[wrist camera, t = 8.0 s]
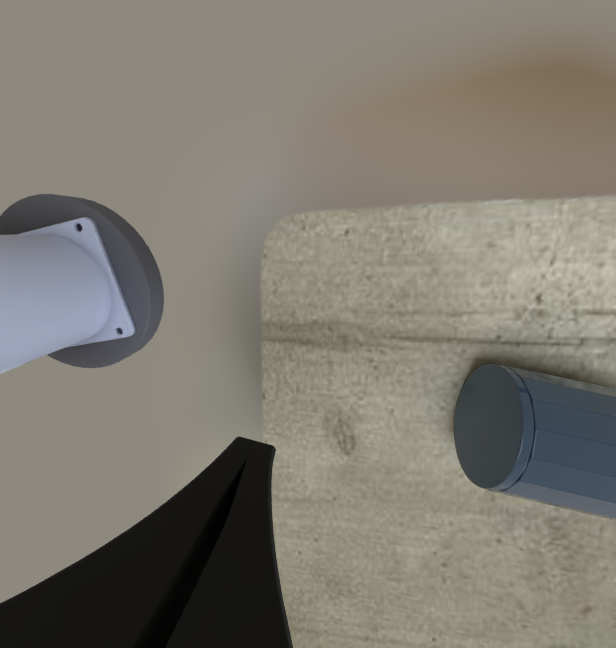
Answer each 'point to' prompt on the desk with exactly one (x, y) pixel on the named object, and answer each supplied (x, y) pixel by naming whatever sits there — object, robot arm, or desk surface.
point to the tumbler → (539, 438)
